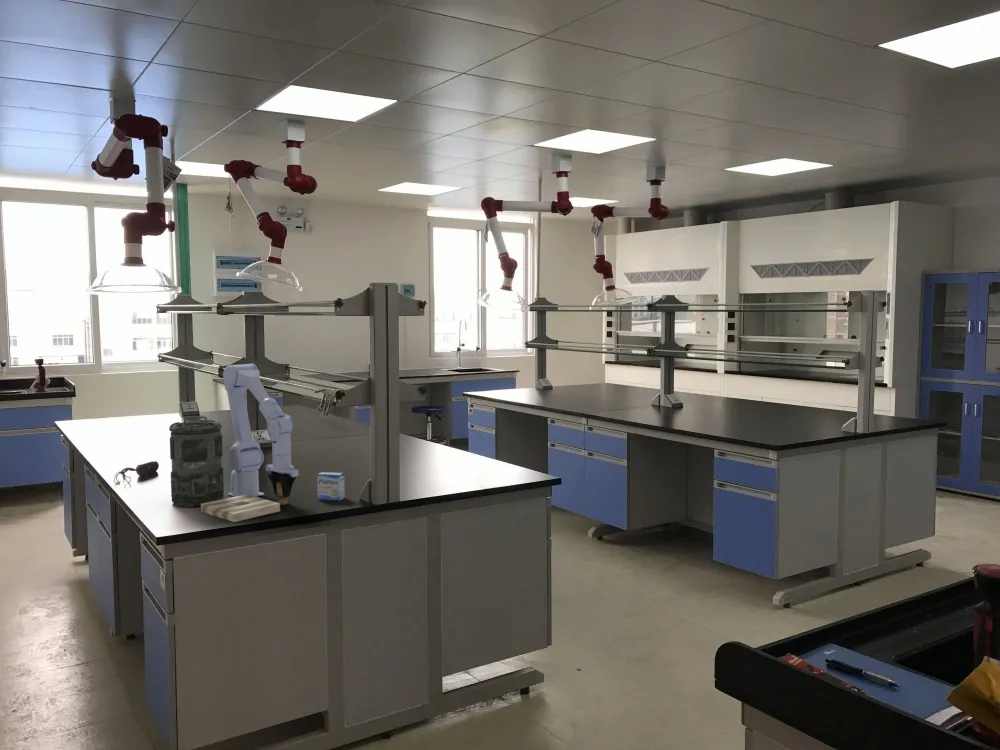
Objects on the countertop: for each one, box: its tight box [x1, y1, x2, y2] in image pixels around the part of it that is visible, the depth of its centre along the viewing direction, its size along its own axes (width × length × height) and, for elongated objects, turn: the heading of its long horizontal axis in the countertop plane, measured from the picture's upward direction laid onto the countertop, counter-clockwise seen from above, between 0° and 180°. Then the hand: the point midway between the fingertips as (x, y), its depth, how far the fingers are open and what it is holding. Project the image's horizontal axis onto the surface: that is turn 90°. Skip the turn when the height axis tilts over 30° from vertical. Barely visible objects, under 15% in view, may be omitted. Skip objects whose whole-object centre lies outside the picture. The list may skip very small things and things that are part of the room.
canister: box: [168, 415, 225, 508], centre depth 251 cm, size 16×16×28 cm
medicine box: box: [317, 471, 346, 502], centre depth 256 cm, size 8×4×9 cm, turn 81°
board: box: [200, 494, 281, 523], centre depth 240 cm, size 18×16×2 cm
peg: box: [276, 481, 288, 506], centre depth 250 cm, size 4×4×7 cm
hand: (282, 495), depth 250 cm, fingers closed on peg, 4 cm apart
